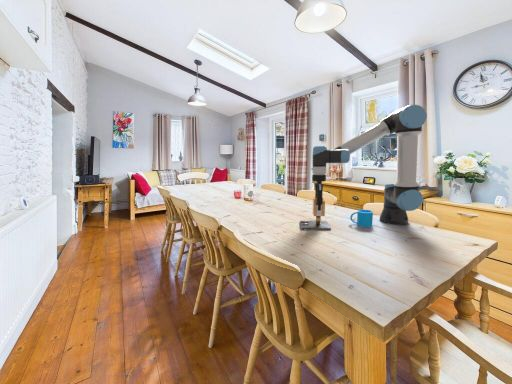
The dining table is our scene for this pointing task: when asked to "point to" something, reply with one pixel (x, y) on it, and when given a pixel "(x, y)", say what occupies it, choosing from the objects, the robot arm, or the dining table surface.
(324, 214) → the brown rectangular block
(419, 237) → the dining table surface
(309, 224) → the plate
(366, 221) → the mug
